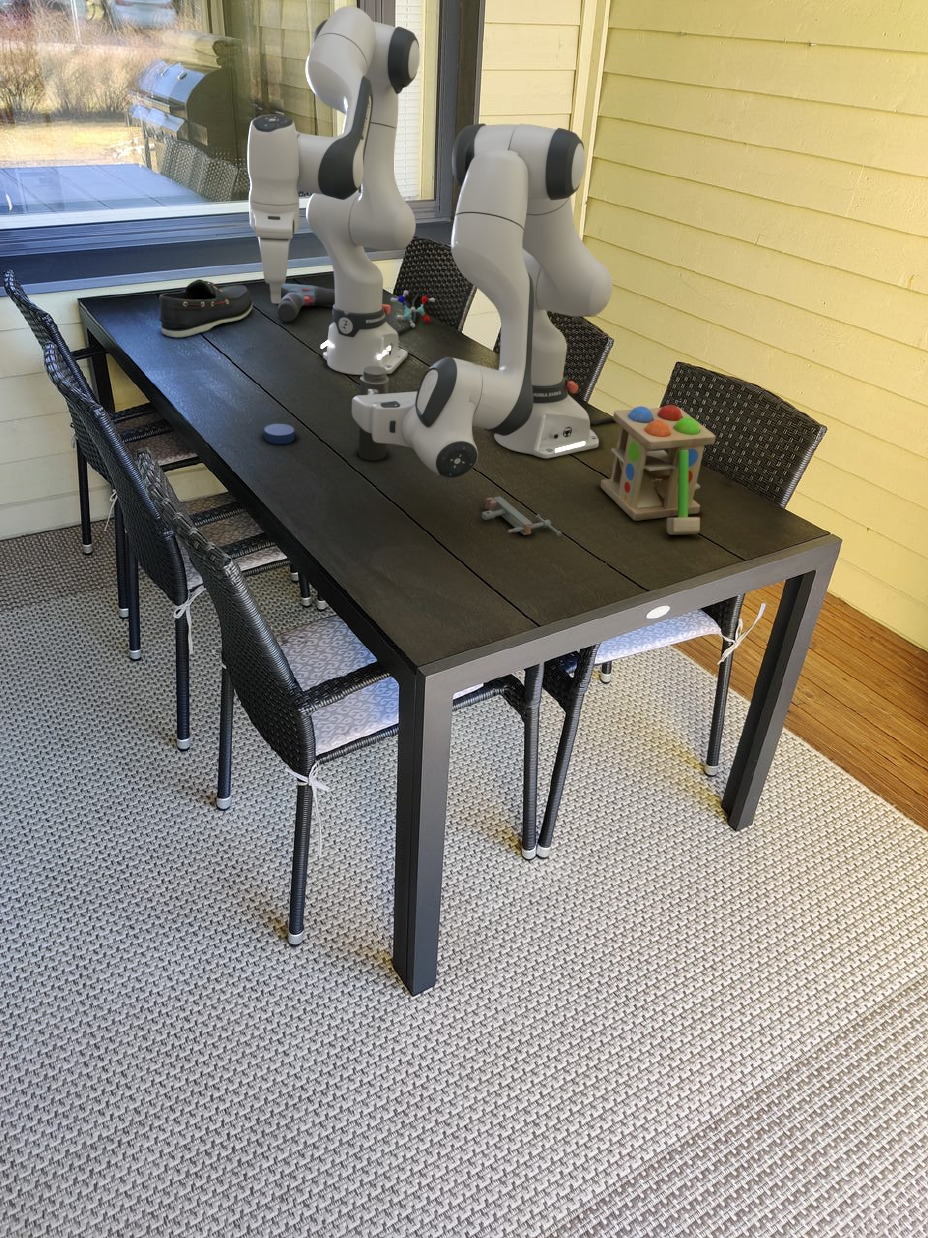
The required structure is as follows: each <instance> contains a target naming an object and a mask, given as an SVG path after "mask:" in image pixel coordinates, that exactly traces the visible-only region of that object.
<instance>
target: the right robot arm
mask: <svg viewBox="0 0 928 1238" xmlns="http://www.w3.org/2000/svg"><path fill="white" fill-rule="evenodd" d="M451 168H452V175H453V178H454V180H455V181H456V183H457V184H458V187H460V188H461V189H460V192H459V196H458V200H457V205H456V209H455V214H454V218H453V219H454V220H453V223H452V224H453V226H452V230H451V236H450V237H451V239H450V251H451V256H452V259H453V261H454V263H455V266H456V267H457V269H458V271H459V272H460V273H461V274H462V276H463V277H464V278H465V279H466V280H467V282H469V283H470V284H472V285H473V286H474V287H475V288H476V289H478V290H479V291H480V292H481V293H482V294H483V295H485V297H487V299H488V300H489V301H490V302H491V303H492V304H493V306H494V307H495V309H496V310H497V313H498V316H499V319H500V341H499V342H500V343H499V365H498V369H495V368H491V367H488V366H485V365H484V366H483V365H479V364H477V363H475V362H471V361H467V360H464V359H461V358H460V359H459V358H457V357H456V358H455V357H451V356H445V357H443V358H441V359H439V360H437V361H436V362H434V363H433V365H431V366H429V368H428V369H427V370H426V371H425V373H424V374H423V375H422V378H421V380H420V382H419V385H417V390H416V391H406V392H392V393H391V392H390V393H389V392H388V394H379V392H378V390H377V389H368V395H360V394H359V395H354V397H353V398H352V400H351V416H352V418H353V420H354V421H355V422H356V423H357V425H358V427H359V426H360V427H361V428H362V429H363V430H365V431H366V432H368V433H371V434H372V438H373V440H374V441H375V442H377V443H386V445H387V444H388V445H396V446H401V447H406V448H410V449H412V450H413V451H414V452H415V454H416V456H417V458H418V459H419V460H420V461H421V462H422V463H423V464H424V466H425V467H427V468H428V469H429V470H430V471H431V472H433V473H434V474H436V475H438V476H440V477H442V478H448V479H449V478H451V479H453V478H459V477H461V476H464V475H466V474H468V473H469V472H470V471H471V470H472V469H473V468H474V467H475V465H476V464H477V462H478V457H479V452H478V447H477V445H476V443H475V440H474V435H473V427H474V428H479V429H482V430H485V431H487V432H490V433H493V435H494V436H493V438H494V440H495V441H496V442H497V444H499V445H500V446H502V447H503V448H506V449H508V450H511V451H514V452H519V453H523V454H529V455H533V456H535V457H538V458H541V459H550V458H555V457H559V456H565V455H569V454H574V453H579V452H583V451H588V450H593V449H596V448H599V446H600V444H599V443H600V439H599V437H598V435H596V433H595V432H594V431H593V430H592V429H591V426H599V425H602V424H605V423H611V422H615V421H614V419H613V416H612V417H611V416H610V417H604V418H601V419H599V420H595V421H593V420H592V418H591V415H590V414H589V412H587V411H586V409H584V408H583V407H582V406H581V404H580V403H578V401H576V400H575V399H574V398H573V397H572V396H571V395H569V392H570V393H571V394H576V393H577V392H578V391H579V385H578V384H577V383H575V381H573V380H571V381H570V380H569V379H568V378H567V377H566V376H564V371H565V366H566V365H565V364H566V357H567V350H568V345H567V340H566V338H565V336H564V334H563V332H561V331H560V330H559V328H557V327H556V326H555V325H554V324H553V323H552V321H551V320H550V317H549V316H548V313H547V312H551V313H555V314H560V315H564V316H568V317H574V318H575V317H577V318H594V317H596V316H598V315H600V314H601V313H602V312H603V311H604V310H605V309H606V308H607V307H608V304H609V302H610V300H611V298H612V295H613V290H614V289H613V287H614V285H613V278H612V274H611V271H610V270H609V268H608V266H606V265H605V264H603V263H602V262H601V261H599V260H598V259H597V258H596V257H595V256H594V255H593V254H592V252H590V250H589V249H588V247H587V246H586V244H585V243H584V241H583V240H582V238H581V236H580V234H579V233H578V230H577V227H576V224H575V218H574V212H573V204H572V196H573V195H574V194H575V193H576V192H577V191H578V190H579V188H580V186H581V183H582V180H583V178H584V175H585V170H586V153H585V146H584V143H583V141H582V139H581V138H580V137H579V134H577V133H576V132H574V131H571V130H569V129H566V128H562V127H558V128H552V127H547V126H542V125H536V124H529V123H519V124H512V123H510V124H509V123H507V124H505V123H503V124H502V123H501V124H486V123H483V122H482V123H475V124H471V125H467V126H465V127H464V128H463V129H462V130H460V132H459V133H458V134H457V135H456V137H455V140H454V144H453V148H452V154H451ZM568 391H569V392H568Z"/></svg>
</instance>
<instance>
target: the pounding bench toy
mask: <svg viewBox="0 0 928 1238" xmlns="http://www.w3.org/2000/svg"><path fill="white" fill-rule="evenodd" d="M612 417H613V419H614V421H613V422H616V424H617V425H619V426H620V427H619V433H618V438H617V443H616V444H617V445H616V447H611V449H610V450H611V452H612V453H613V454H614V460H613V465H612V471H611V477H610V478H605V479H601V480H600V485H599V486H600V489H602V490H603V492H605V493H606V494H607V495H608V496H609V498H611V500H613V501H614V503H616V505H618V506H619V507H620V508H621V509H622V510H623V511H624V512H625V513H626V514H627V515H628V516H629V517H630V518H631V519H632V520H633V521H635V522H636V521H643V520H653V519H662V518H666V533H667V534H668V535H670V536H671V535H673V536H674V535H675V536H677V535H697V534H699V533H700V529H701V518H700V517H697V516H689V515H694V514H699V512H700V508H701V505H700V504H699V503H698V502H697V501H696V500H695V499H694V496H695V493H696V490H698V489H700V488H701V485H700V484H699V483H698V477H699V473H700V468H701V463H702V459H703V454H704V449H705V446H708V445H714V444H715V441H716V435H715V434H714V433H713V432H712V431H711V430H709V429H708V428H706V427H705V426H704V425H702V423H700V422H699V421H698V420H697V419H695V418H693V417H692V416H691V415H689V414H688V413H687V412H686V411H684V410H683V409H682V408H680V407H678V406H676V405H673V404H667V405H664V406H662V407H654V408H653V407H652V408H648V407H646V406H642V405H641V406H635V407H634V408H633V409H621V410H619V409H617V410H614V411H613V415H612ZM664 449H668V453H667V452H666V451H665V450H664ZM648 450H650V451H648ZM651 450H652V451H651Z"/></svg>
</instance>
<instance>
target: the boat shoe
mask: <svg viewBox="0 0 928 1238" xmlns="http://www.w3.org/2000/svg"><path fill="white" fill-rule="evenodd" d="M159 303H160V304H159V305H160V309H159V314H160V316H159V318H158V321H159V322H161V325H160V326H161V333H162V334H163V335H165V336H167V337H172V338H184V337H185V338H186V337H191V336H194V335H196V334H199V333H203V332H207V331H209V330H211V329H212V328H213V327H214V326H217V325H220V324H223V323H229V322H235V321H239V320H242V319H244V318H245V317H247V316H248V315H249V314H250V312H251V311H252V309H253V305H254V304H253V299H252V295H251V292H250V291H249V290H248V288H247V287H246V286H245V285H243V284H232V285H227V286H223V287H219V286H218V285H217V284H216V283H214V282H212V281H208V280H203V279H200V278H199V279H196V280H194V281H192V282H190V283H189V284H188V285H186V287H185V288H184V290H183V291H179V292H167V293H161V294H160V295H159Z"/></svg>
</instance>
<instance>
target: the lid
mask: <svg viewBox="0 0 928 1238" xmlns="http://www.w3.org/2000/svg"><path fill="white" fill-rule="evenodd" d="M263 432H264V434H263V435H264V439H265V441H266V442H268V443H271V444H275V445H286V444H289V443H292V442H293V441H294V439H295V435H296V433H295V428H294V427H293V426H291V425H290V424H286V423H271V424H268V425H266V426H265V427H264V430H263Z"/></svg>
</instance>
